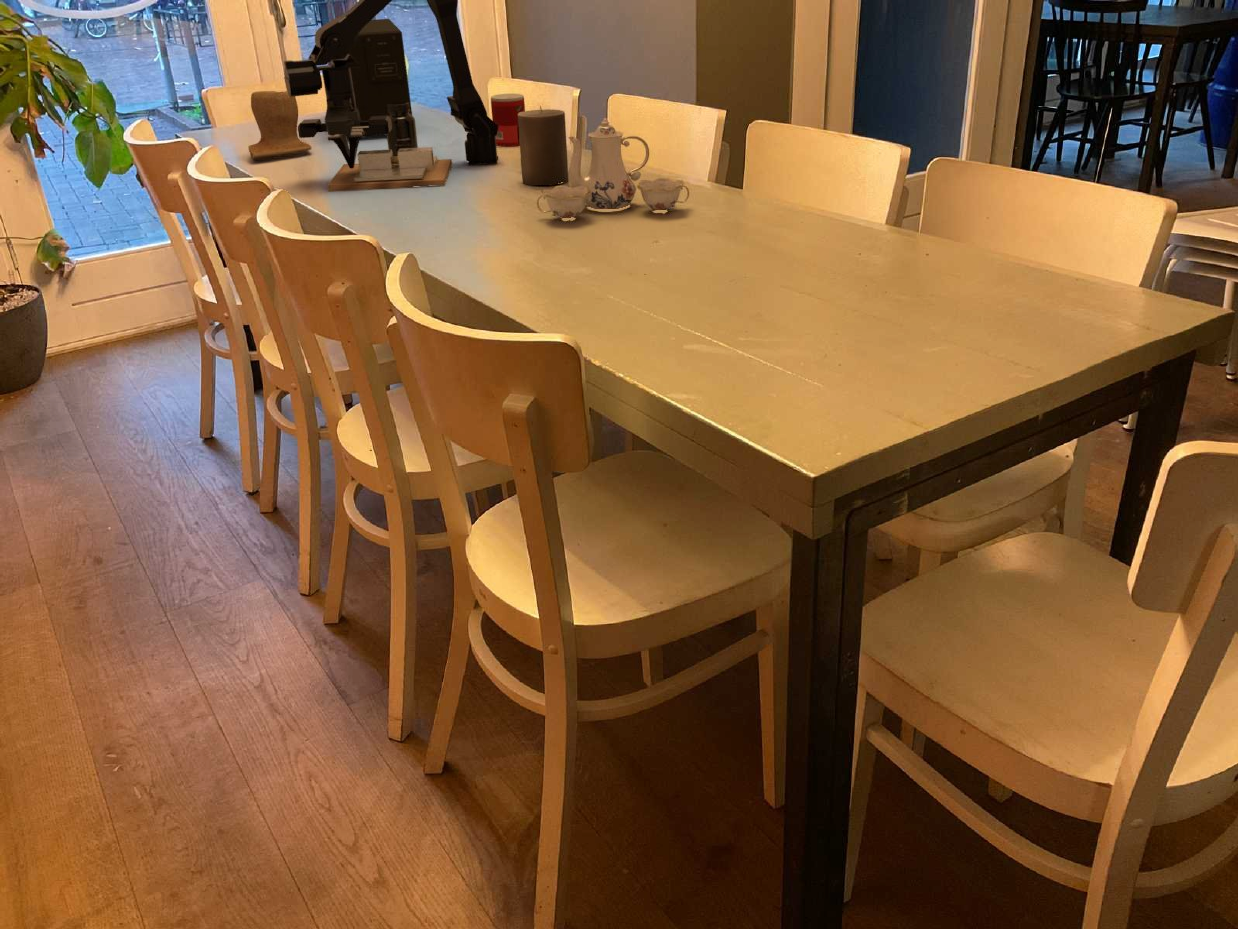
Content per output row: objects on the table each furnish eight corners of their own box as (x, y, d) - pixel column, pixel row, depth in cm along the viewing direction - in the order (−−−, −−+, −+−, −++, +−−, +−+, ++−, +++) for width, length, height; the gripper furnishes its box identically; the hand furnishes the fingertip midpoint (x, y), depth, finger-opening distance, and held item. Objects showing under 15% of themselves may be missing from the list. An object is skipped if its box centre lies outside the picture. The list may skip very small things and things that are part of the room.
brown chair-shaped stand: (300, 147, 252) (289, 83, 245) (317, 154, 243) (306, 88, 236) (239, 156, 245) (225, 90, 237) (254, 164, 236) (241, 96, 229)
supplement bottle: (403, 161, 234) (396, 106, 228) (383, 157, 238) (375, 104, 232) (425, 155, 239) (418, 101, 233) (405, 152, 242) (398, 99, 237)
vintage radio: (331, 118, 287) (316, 21, 275) (401, 112, 291) (389, 17, 279) (337, 143, 255) (319, 35, 243) (415, 136, 260) (401, 30, 248)
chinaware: (547, 239, 181) (543, 145, 172) (528, 207, 194) (523, 118, 185) (696, 222, 187) (699, 131, 178) (667, 192, 201) (669, 105, 191)
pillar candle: (562, 186, 207) (558, 109, 200) (516, 185, 209) (510, 109, 202) (573, 176, 216) (570, 102, 209) (529, 175, 217) (524, 101, 210)
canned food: (525, 146, 244) (522, 98, 239) (492, 147, 244) (488, 99, 239) (528, 139, 251) (525, 92, 246) (496, 140, 251) (492, 93, 246)
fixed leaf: (437, 160, 227) (435, 140, 225) (433, 171, 218) (430, 150, 216) (374, 163, 227) (371, 143, 225) (367, 174, 217) (364, 153, 215)
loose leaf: (427, 166, 221) (425, 147, 219) (422, 178, 212) (420, 158, 210) (362, 169, 220) (359, 150, 218) (354, 181, 211) (351, 161, 209)
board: (452, 164, 229) (451, 158, 228) (444, 185, 212) (443, 179, 211) (344, 169, 228) (343, 164, 227) (328, 191, 211) (327, 185, 210)
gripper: (285, 100, 203) (300, 179, 211) (379, 95, 204) (390, 174, 212) (297, 91, 213) (311, 167, 221) (386, 87, 214) (397, 162, 221)
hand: (352, 168), depth 218 cm, fingers closed
